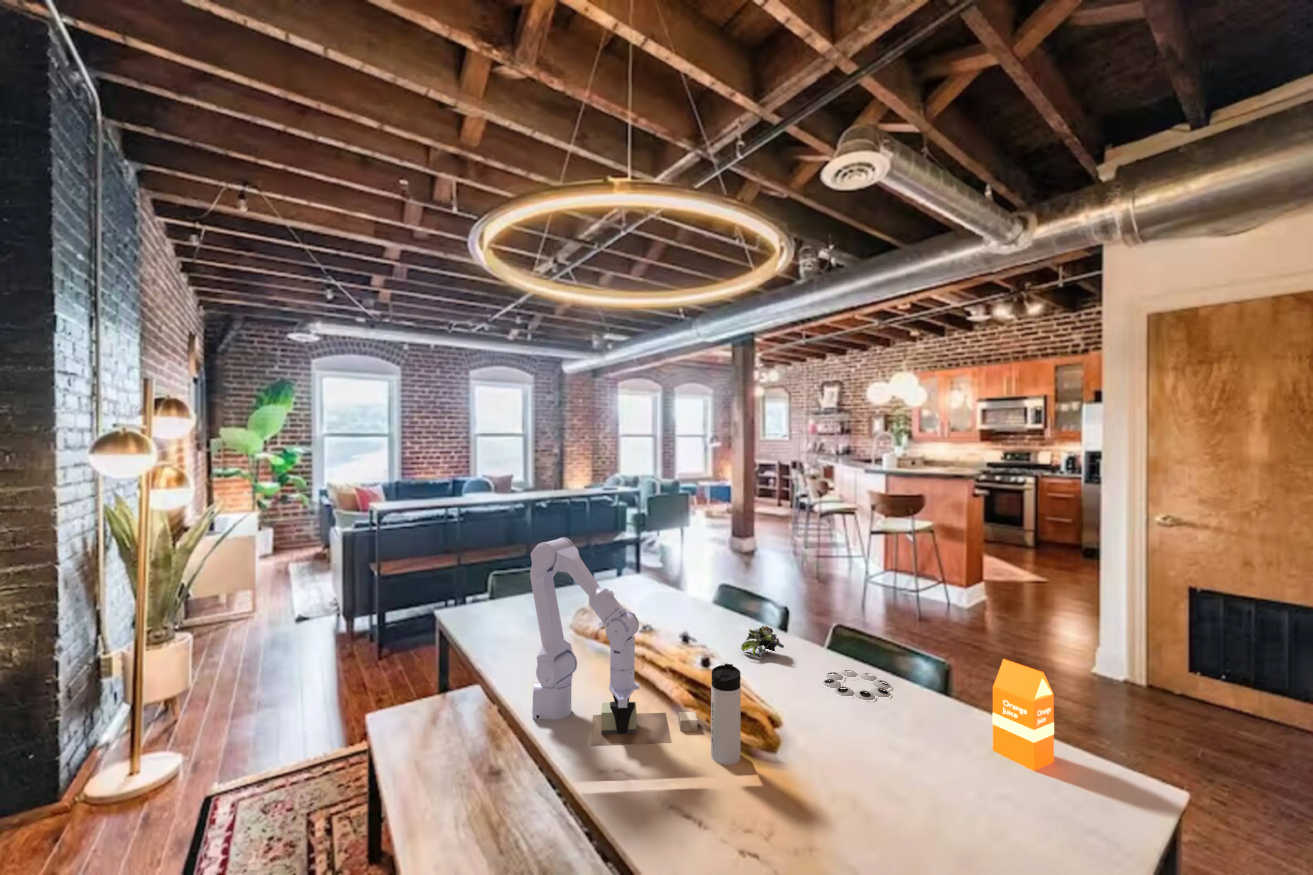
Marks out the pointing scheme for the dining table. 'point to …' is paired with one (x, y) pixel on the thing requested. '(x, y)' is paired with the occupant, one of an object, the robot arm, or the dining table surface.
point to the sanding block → (610, 723)
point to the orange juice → (1023, 716)
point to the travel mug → (725, 714)
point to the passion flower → (761, 640)
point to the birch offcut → (687, 721)
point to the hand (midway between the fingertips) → (621, 724)
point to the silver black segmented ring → (857, 694)
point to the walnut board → (647, 731)
